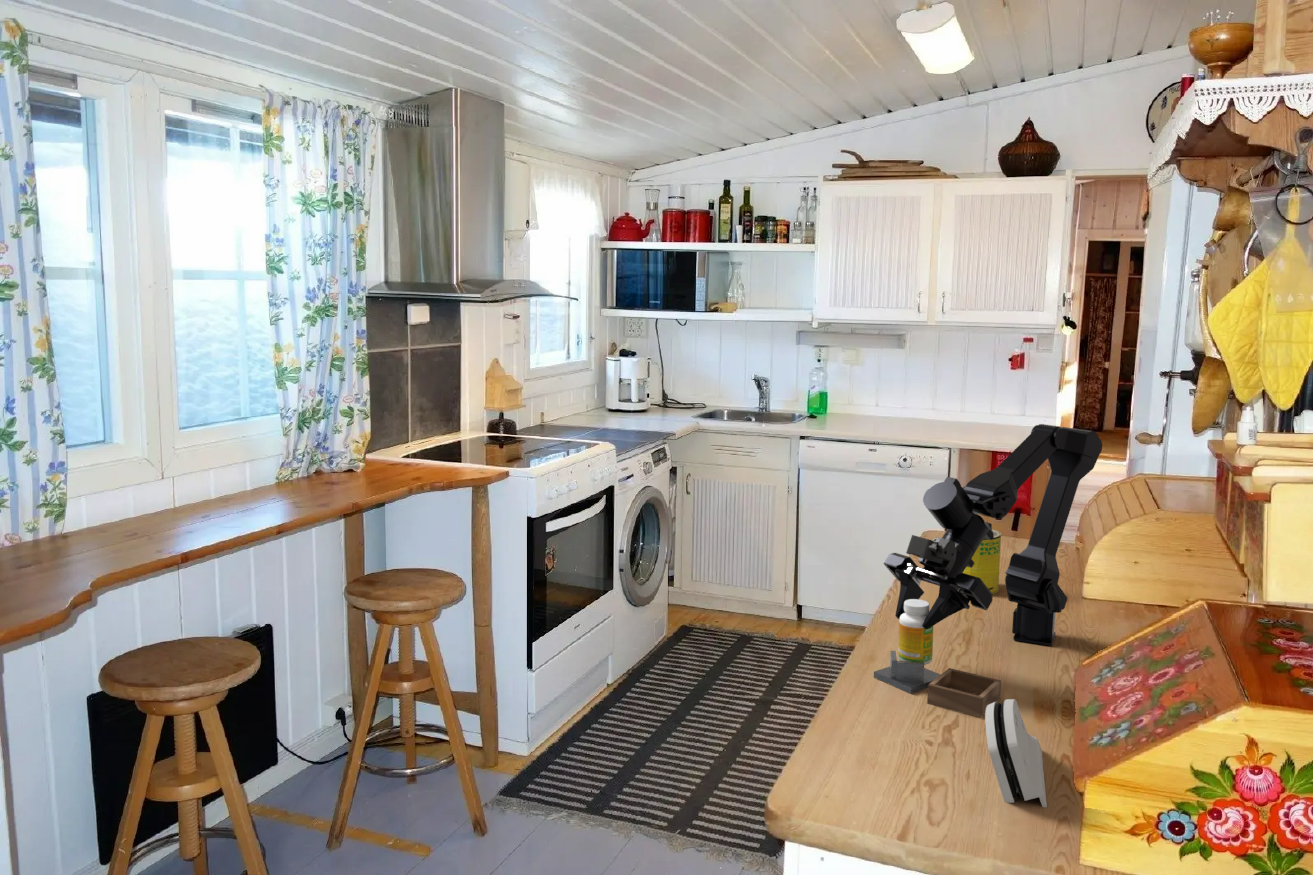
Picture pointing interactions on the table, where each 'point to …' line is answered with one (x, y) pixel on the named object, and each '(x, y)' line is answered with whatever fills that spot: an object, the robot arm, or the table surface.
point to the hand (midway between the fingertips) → (910, 622)
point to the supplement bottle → (915, 633)
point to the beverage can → (987, 562)
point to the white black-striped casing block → (1014, 753)
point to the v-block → (906, 675)
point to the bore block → (960, 700)
